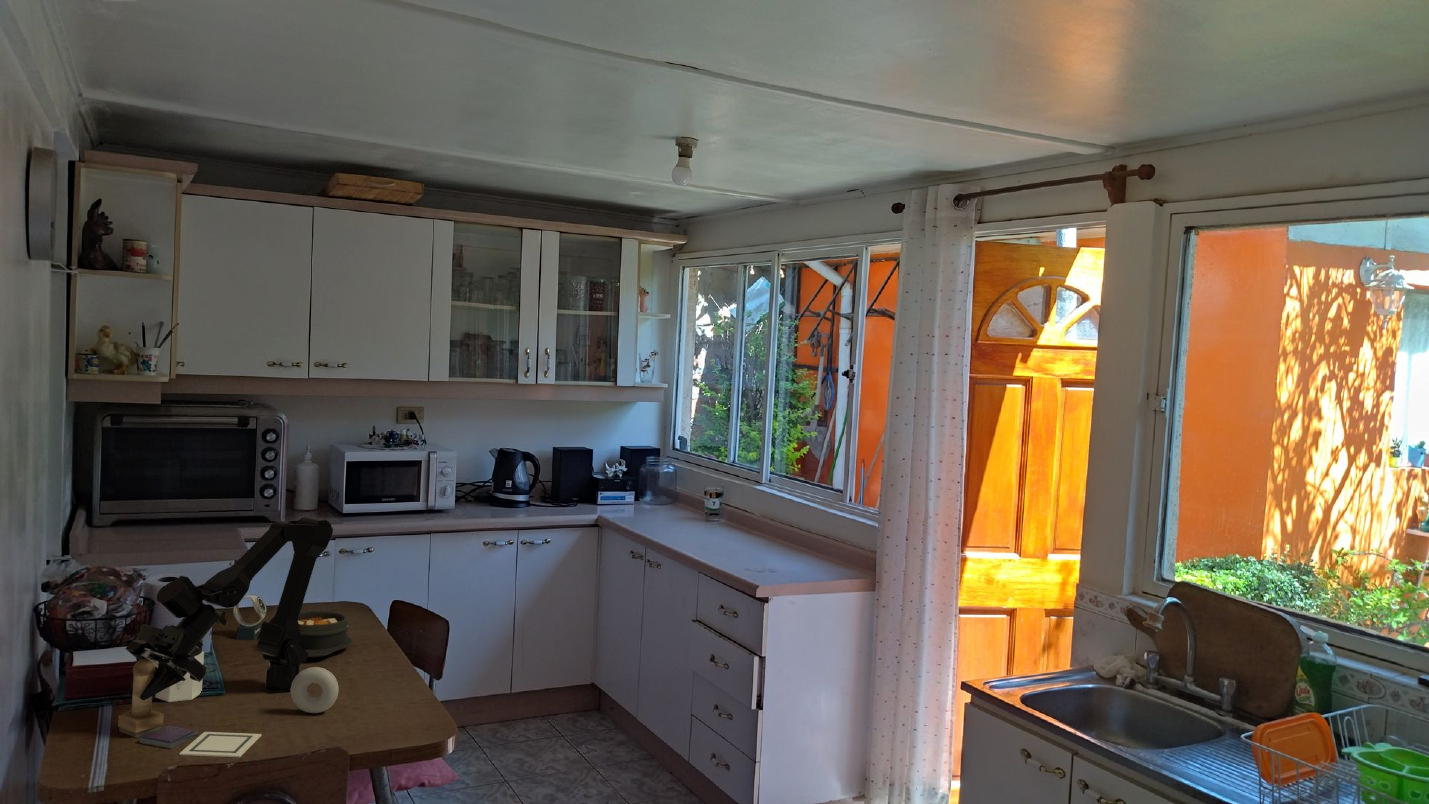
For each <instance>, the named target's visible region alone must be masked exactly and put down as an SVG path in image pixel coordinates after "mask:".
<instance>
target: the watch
mask: <svg viewBox="0 0 1429 804" xmlns="http://www.w3.org/2000/svg"><path fill="white" fill-rule="evenodd" d="M245 599H250V601H251V602H252V606H253V609H254V611H255V612H256V613H257V614H258V615H259V617H260V619H259V621H257V622H246V621H245V620H244V618H243V617H242V615H241V613H240V609H239V606H238V604H237V605H236V606H235V607H233V611H232V613H233V616H234V618H235V620H236V621H237V623H238V624H240V625H239V626H237V627H236V635H235V636H236V637H235V640H237V641H238V640H240V641H244V640H245V641H254V640H256V639H257V637H258V636H259V634H260V631H261V623H262V621H264V620H263V619H264V618H265V616H266V613H267V612H268V611H267V609H268V608H267V605H266V603H265V601H264V600H263V599H262V598H261V596H257V595H253V594H247V595H245V596H244V597H243V598H242V600H245Z"/></svg>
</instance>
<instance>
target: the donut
mask: <svg viewBox="0 0 1429 804" xmlns="http://www.w3.org/2000/svg"><path fill="white" fill-rule="evenodd" d="M311 684H316V685H317V684H318V685H319V686H320V688H321V694H320V695H319V696H312V695H310V693H309V692H308V687H309V685H311ZM339 691H340V689H339V683H338V680H337V678H336V677H335V675H334V674H333V673H332V672H331V671H329V670H327V669H326V668H324V667H319V666H313V667H308V668H305V669H303V670H301V671H299V674H298V675H296V677H295V679H294V680H293V682H292V685H291V689H290V691H289V692H290V698H291V700H292V701H293V704H294V705H295V706H296V707H297V708H298V709H300V710H301V711H302V712H304V713H309V714H319V713H320V714H321V713H323V712H325V711H326V710H328V709H330V708H331V707H332V706H333V705H334V704H335V702H336V700H337V699H338V695H339Z"/></svg>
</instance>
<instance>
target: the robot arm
mask: <svg viewBox="0 0 1429 804" xmlns="http://www.w3.org/2000/svg"><path fill="white" fill-rule="evenodd" d="M333 533H334V528H333V526H332V524H331V523H330V521H329V520H327V519H322V518H316V517H311V516H303V517H301V518H300V519H298V520H283V521H281V520H277V521H274V522H272V523H271V524H270V526H269V528H268V530H266V532H265V533H264V534H263V535H262V536H261V537H259V539H258V540H257V541H256V542H255V543H253V544H252V545H251V547H249V549H248V550H247V551H246V552H245V553H244V554H243V555H242V556H240V557H239V559H238V560H237V561H236V562H235V563H233V564H232V565H231V566H229V567H227V568H224V569H222V570H220V571H218V572H217V573H216V574H214V575H213V576H212V577H210V578H208V580H206V581H205V583H202V584H199V585H195V584H194V583H193V581H192V580H191V578H189V577H188V576H184V575H180V576H179V577H178V578H177V579H174V580H172V581H169V582H168V583H167V584H165V585H163V586H161V588H160V589H159V590H158V592H157V594H156V601H157V602H158V603H159V604H161V606H162V607H164V608H165V609H166V610H167V611H168V612H169V613H170V614H172V616H173V617H175V618H177V619H181V618H182V619H181V620H179V622H178V623H177V624H176V625H174V624H171V625H165V626H163V628H160V627H156V626H153V625H148V624H146V623H143V624H142V626H141V629H139V630H140V631H139V633H138V634H137V637H136V639H134V640H131V641H130V642H129V643H128V644H127V646H126V647H125V648H124V649H125V650H126V651H127V652H129V654H131V655H132V656H133V657H135V659H136V660H137V662H138V661H140V660H142V659H148V660H151V661H152V662H153V663H154V665H155V671H154V674H153V679H152V680H151V681H150V683H149V684H148V685H147V687H146V688H145V690H144V691H143V693H142V694H141V696H140V699H141V700H146V699H148V698H150V697H151V696H152V697H153V696H156V694H157V693H159V692H160V691H162V690H164V689H166V688H168V687H170V686H172V685H174V684H176V683H178V682H180V681H185V680H186V679H185V678H184V676H185V675H186V674H187V672H188V673H189V674H190V679H192V680H195V681H198V682H200V681H201V680H202V681H203V679H204V678H205V676H206V675H207V667H206V666H205V665H204V663H203V664H201V663H200V662H199V661H198V660H197V659H196V658H195V657H193V656H191V655H190V654H191V652H192V651H193V650H194V649H195V647H196V648H199V649H200V648H201V647H202V648H203V646H204V644H202V643H201V642H200V641H201V640H202V641H203V639H204V638H205V636H206V635H207V634H208V632H210V630H211V629H212V628H213V627H214V626H215V624H218V625H221V626H226V625H227V618H226V611H223V610H217V609H216V608H215V607H214V606H213V605H215V606H218V607H222V608H226V609H231V608H233V609H234V607H235V606H236V605H237V604H240V602H241V601H242V600H243V599H242V598H243V597H244V596H246V594H247V593H248V591H249V588H250V585H251V583H252V580H253V579H254V578H255V576H256V575H257V574H258V573H259V572H260V571H261V570H262V569H263V568H264V567H265V566H266V565H267V564H268V563H269V562H270V561H271V560H272V558H274V557H275V556H276V555H277V554H278V552H280V551H281V549H282V548H283V547H284V546H285V545H286V544H287V543H288V542H289V541H291V543H292V548H293V553H294V554H293V557H292V561H291V564H290V567H289V571H288V573H287V577H286V580H285V583H284V586H283V590H282V592H281V595H280V599H279V602H278V606H277V609H276V612H275V615H274V616H273V617H272V618H271V619H270V620H269V622H268V621H264V620H263V622H261V624H260V634H259V636H257V637H256V639H257V640H258V642H257V648H258V649H259V651H260V652H261V654H262V658H263V660H264V661H269V662H268V666H266V668H265V683H264V684H265V685H264V686H265V688H266V690H267V693H271V694H272V693H282V692H283V693H285V692H291V691H290V689H291V685H292V682H293V680H294V679H295V677H296V675H298V674H299V673H300V666H301V664H305V663H306V662H307V658H308V657H307V656H308V653H307V652H306V651H305V650H304V649H303V648H302V647H301V646H300V645H299V640H300V634H301V633H300V628H299V623H298V617H299V614H300V613H301V610H302V607H303V604H304V600H305V597H306V595H307V591H308V587H309V584H310V582H311V578H312V574H313V571H314V568H315V564H316V561H317V559H318V558H319V556H320V555H322V553H323V552H324V551H325V550H326V549H327V548H328V545H329V543H330V541H331V538H332V536H333ZM203 601H205V602H206V603H204V602H203ZM237 606H238V605H237ZM163 658H164V659H163ZM157 667H158V668H157ZM133 680H134V678H133ZM133 680H132V682H131V685H130V687H129V690H128V691H127V695H128V696H130V697H133Z"/></svg>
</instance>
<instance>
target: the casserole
mask: <svg viewBox="0 0 1429 804" xmlns="http://www.w3.org/2000/svg"><path fill="white" fill-rule="evenodd" d="M298 623H299V628H300V633H301V634H300V640H299V645H300V646H301V647H302V648H303V649H304V650H305V651H306V652H307V653H308V656H307V658H320V657H322V658H323V657H326V656H329V655H330V654H333V653H335V652H338V651H342V650H343V649H347V648H348V647H350V646H351V645H352V644H353V639H352V638H351V637H349V635H348V633H347V632H348V630H349V629H350V627H351V624H350V622H349V621H348V618H347V616H345V615H344V614H342V613H339V612H336V611H335V612H334V611H324V610H316V611H315V610H311V611H303V612H301V611H300V614H299V617H298Z"/></svg>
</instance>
